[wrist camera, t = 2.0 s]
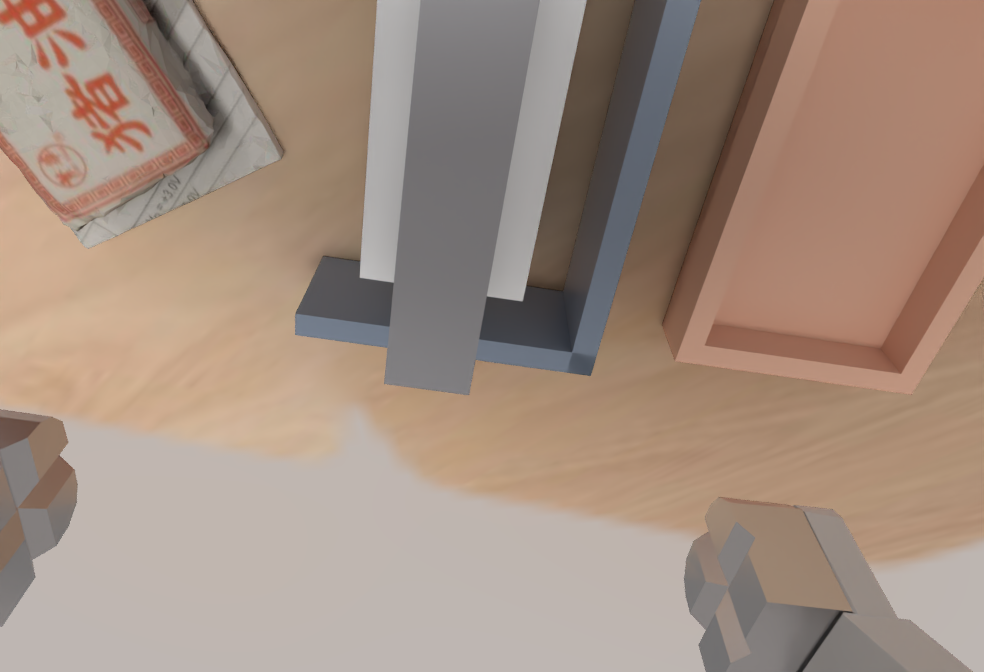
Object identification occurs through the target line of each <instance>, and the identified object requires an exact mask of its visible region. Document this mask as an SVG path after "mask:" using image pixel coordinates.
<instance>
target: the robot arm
mask: <svg viewBox="0 0 984 672" xmlns="http://www.w3.org/2000/svg"><path fill="white" fill-rule="evenodd" d="M67 444H68V439H67V436H66V432H65V429H64V425H63V422H62V421H60V420H58V419H56V418H53V417H49V416H42V415H35V414H29V413H22V412H15V411H8V410H1V409H0V626H1V627H2V626H3V624H4V623H5V622H6V620H7V619H8V617H9V616H10V614H11V612H12V611H13V610H14V608H15V607H16V605H17V604H18V602H19V601H20V599H21V598H22V596H23V595H24V593H25V592H26V590H27V589H28V587H29V586H30V584H31V583H32V581H33V580H34V578H35V572H34V567H33V562H32V560H33V559H35V558H36V557H38V556H40V555H41V554H43V553H45V552H46V551H48V550H50V549H52V548H53V547H55V546H56V545H57V544H58V542H59V541H60V539H61V537H62V536H63V534H64V533H65V531H66V530H67V528H68V526H69V524H70V521H71V518H72V514H73V512H74V509H75V506H76V503H77V485H78V484H77V480H76V475H75V470H74V469H73V468H72V467H71V466H70V465H69V464H68V463H67V462H66V461H65V460H64V459H63V458H62V457H60V456H59V454H60V453H61V452H62V450H63V449H64V448H65V446H66V445H67ZM705 520H706V523H707V527H708V530H709V532H707V533H706V534H704V535H702V536H701V537H699V538H698V539H696V540H694V541H693V544H692V546H691V549H690V551H689V554H688V556H687V559H686V567H685V576H684V583H685V593H686V599H687V603H688V607H689V611H690V614H691V615H692V616H693V617H694V618H695V619H696V620H697V621H698V622H699V623H700V624H701V625H702V626H703V627H704V629H706V631H705V633H704V635H703V637H702V639H701V641H700V643H699V648H700V652H701V655H702V659H703V663H704V666H705V670H706V672H973V671H971V670H970V669H969V668H968V667H967V666H965V665H964V664H963V663H962V662H961V661H959V660H958V659H957V658H956V657H954V656H953V655H952V654H951V653H949V652H948V651H947V650H946V649H944V648H943V647H942V646H941V645H940V644H938V643H937V642H936V641H935V640H934V639H933V638H931V637H930V636H929V635H928V634H926V633H925V632H924V631H923V630H922V629H920V628H919V627H918V626H917V625H916V624H914V623H913V622H912V621H911V620H906V619H898V618H897V616H896V614H895V612H894V611H893V608H892V607H891V605H890V603H889V601H888V599H887V598H886V596H885V594H884V592H883V590H882V589H881V587H880V585H879V583H878V581H877V580H876V578H875V576H874V574H873V572H872V571H871V569H870V567H869V565H868V563H867V562H866V560H865V558H864V556H863V554H862V553H861V551H860V549H859V547H858V545H857V544H856V542H855V540H854V538H853V536H852V535H851V533H850V531H849V529H848V528H847V526H846V524H845V522H844V520H843V519H842V517H841V516H840V515H839V514H838V513H836V512H835V511H834V510H833V509H826V508H816V507H807V506H798V505H794V506H791V505H786V504H777V503H768V502H759V501H750V500H741V499H732V498H723V497H718V498H717V499H716V500H715V501H714V502H713V503H712V504H711V505H710V507H709V510H708V512H707V514H706V516H705Z"/></svg>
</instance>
